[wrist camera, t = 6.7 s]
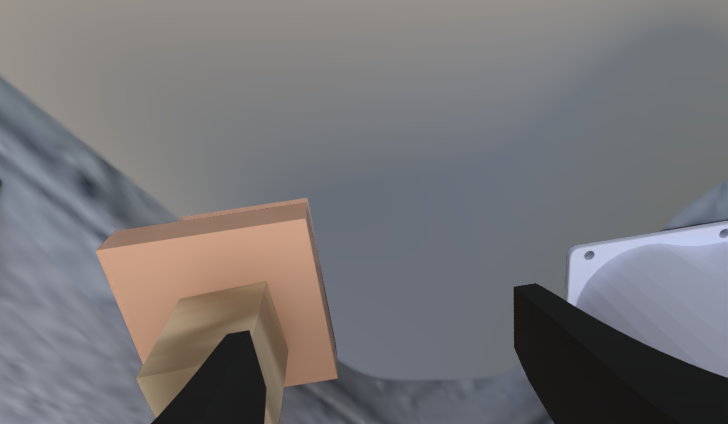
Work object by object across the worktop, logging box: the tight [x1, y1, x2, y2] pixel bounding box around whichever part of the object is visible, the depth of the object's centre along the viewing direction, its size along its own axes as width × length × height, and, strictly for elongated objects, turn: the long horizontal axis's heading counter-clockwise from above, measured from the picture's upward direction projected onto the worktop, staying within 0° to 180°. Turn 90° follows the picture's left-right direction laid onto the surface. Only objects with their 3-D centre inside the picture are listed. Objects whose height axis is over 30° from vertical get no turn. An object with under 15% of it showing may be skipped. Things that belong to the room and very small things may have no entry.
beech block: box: [136, 281, 289, 424], centre depth 19 cm, size 4×4×5 cm
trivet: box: [96, 198, 338, 387], centre depth 22 cm, size 9×9×2 cm
